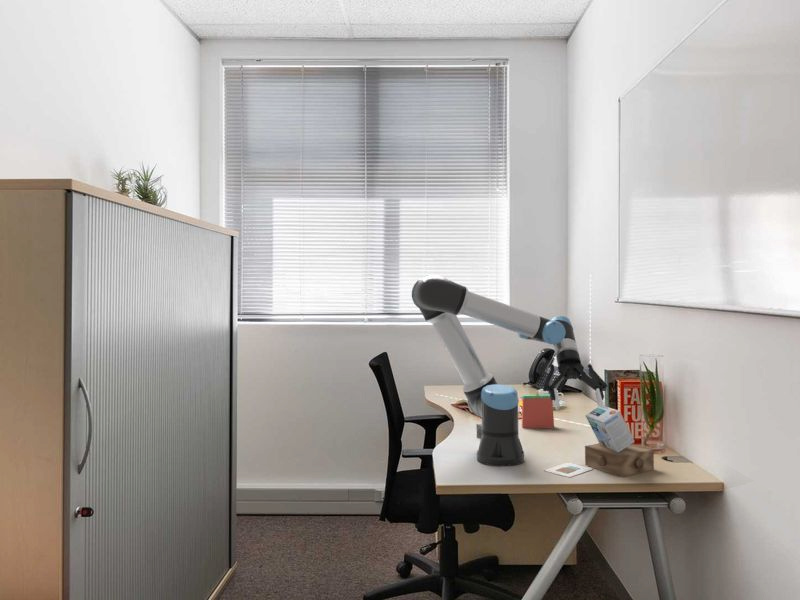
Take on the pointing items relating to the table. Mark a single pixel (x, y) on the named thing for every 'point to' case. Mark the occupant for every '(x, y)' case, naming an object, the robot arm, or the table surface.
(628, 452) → the base brick
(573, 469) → the white picture frame
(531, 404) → the toy building block set
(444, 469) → the table surface
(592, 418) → the light bulb box
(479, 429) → the dice cube
